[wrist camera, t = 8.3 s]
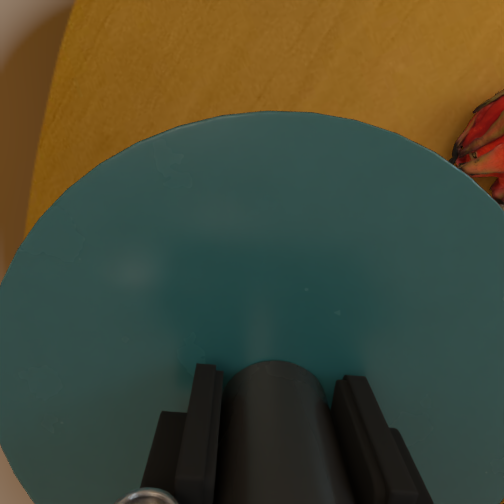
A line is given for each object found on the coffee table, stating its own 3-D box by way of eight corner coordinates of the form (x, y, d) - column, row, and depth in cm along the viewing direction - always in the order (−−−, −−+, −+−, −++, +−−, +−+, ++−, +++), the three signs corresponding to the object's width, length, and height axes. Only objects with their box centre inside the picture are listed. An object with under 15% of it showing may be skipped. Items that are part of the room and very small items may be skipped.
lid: (21, 559, 16) (-130, 865, 9) (-14, 79, 11) (-362, 38, 5) (461, 585, 17) (598, 884, 10) (604, 142, 12) (1028, 183, 5)
